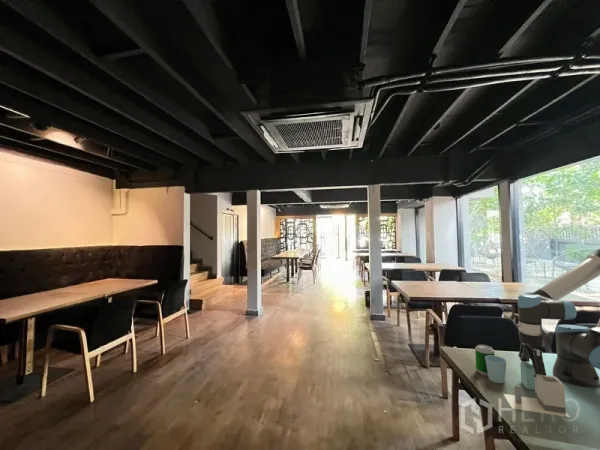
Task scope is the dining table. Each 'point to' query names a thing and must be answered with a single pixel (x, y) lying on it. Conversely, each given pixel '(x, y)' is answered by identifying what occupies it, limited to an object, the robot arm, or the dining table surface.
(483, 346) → the soda can
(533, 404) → the pin board
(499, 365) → the cup
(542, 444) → the dining table surface
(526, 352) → the robot arm
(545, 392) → the grey sleeve
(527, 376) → the teal sleeve
